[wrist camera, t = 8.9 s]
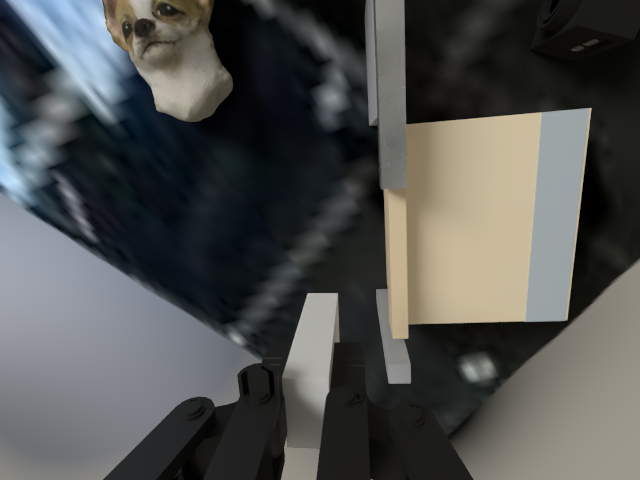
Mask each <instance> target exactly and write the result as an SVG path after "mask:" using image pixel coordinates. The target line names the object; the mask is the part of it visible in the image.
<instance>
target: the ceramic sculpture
mask: <svg viewBox="0 0 640 480" xmlns="http://www.w3.org/2000/svg"><path fill="white" fill-rule="evenodd" d="M102 1H103V6H104V14H105V19H106V20H107V21H106V22H105V23H106V25H107V30H108V31H109V32H110V33H111V35H112V39H113V41H114V43H116V44H117V45H118V46H119V47H121V48H122V49H123V50H124V51H126V52H129V54H130V57H131V60H132V61H133V63H134V65H135V66H136V68H137V70H138V72H139V74H140V75H141V76H142V77H143V78H144V79H145V80H146V82H147V83H148V84H149V85H150V86H151V88H152V91H153V96H154V99H155V105H156V108H157V110H158V111H159V112H163V113H166V114H169V115H172V116H174V117H176V118H177V119H180V120H183V121H188V122H195V121H201V120H202V119H204V118H207V117H209V116H211V115H212V114H213V113H214V112H215V110H216V108H217V107H218V106H219V104H220V103H221V102H222V101H223V100H224V99H225V98H226V97H227V96H228V95H229V94H230V92H231V91H232V89H233V80H232V77H231V75H230V73H229V72H228V71H227V70H226V69H225V67H223V66H222V64H221V62H220V60H219V58H218V56H217V53H216V50H215V48H214V42H213V40H212V35H211V33H210V32H209V29H208V24H209V21H210V18H211V15H212V10H213V4H214V0H102Z"/></svg>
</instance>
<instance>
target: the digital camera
mask: <svg viewBox="0 0 640 480" xmlns="http://www.w3.org/2000/svg"><path fill="white" fill-rule="evenodd" d="M639 28H640V0H543V1H542V4H541V6H540V9H539V12H538V16H537V30H536V33H535V35H534V38H533V41H532V43H531V46H530V50H531V51H534V52H538V53H542V54H546V55H550V56H554V57H558V58H562V59H566V60H570V61H574V62H576V61H579V60H582V59H584V58H587V57H590V56H593V55H596V54H598V53H601V52H604V51H607V50H609V49H612V48H615V47H618V46H620V45H623V44H626V43H628V42H631V41H633V40H634V39H635V37H636V35H637V33H638V31H639Z"/></svg>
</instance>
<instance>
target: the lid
mask: <svg viewBox="0 0 640 480" xmlns="http://www.w3.org/2000/svg"><path fill="white" fill-rule="evenodd" d="M590 116H591V108H586V109H575V110H563V111H552V112H541V113H530V114H519V115H507V116H496V117H485V118H473V119H462V120H451V121H439V122H428V123H416V124H406V146H407V188H395V189H385V216H386V247H387V278H388V308H389V323H390V328H391V333H392V338H393V339H408V324H440V323H478V322H515V321H525V322H538V321H565V320H567V318H568V309H569V300H570V292H571V283H572V274H573V265H574V257H575V248H576V239H577V230H578V221H579V213H580V204H581V195H582V186H583V178H584V169H585V160H586V151H587V142H588V134H589V125H590Z"/></svg>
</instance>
